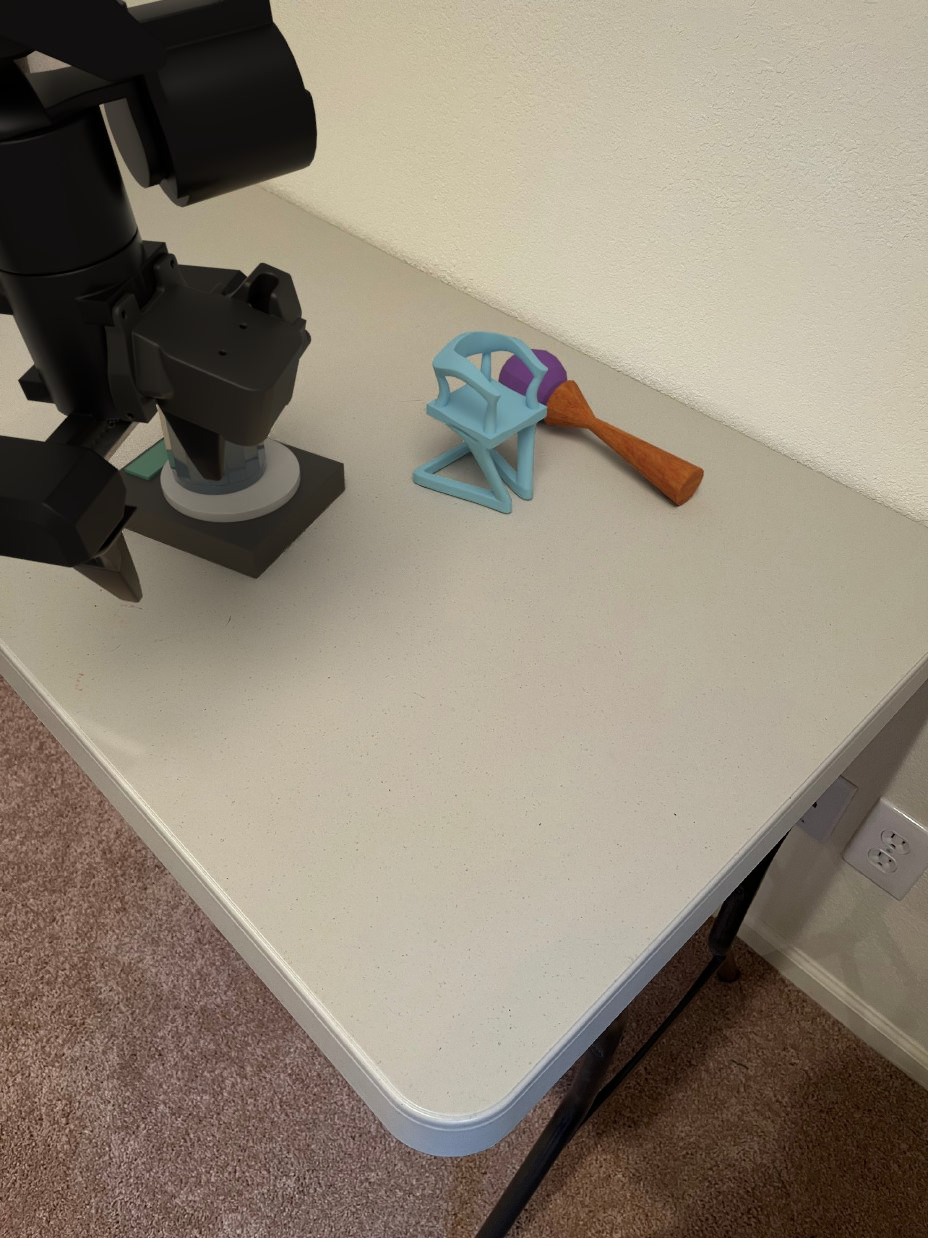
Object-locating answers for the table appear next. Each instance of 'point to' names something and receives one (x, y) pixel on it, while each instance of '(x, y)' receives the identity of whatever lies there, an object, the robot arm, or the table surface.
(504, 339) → the chair
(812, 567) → the table surface
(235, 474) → the cup
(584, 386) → the table surface
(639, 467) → the kendama
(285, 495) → the scale
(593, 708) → the table surface
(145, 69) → the robot arm
